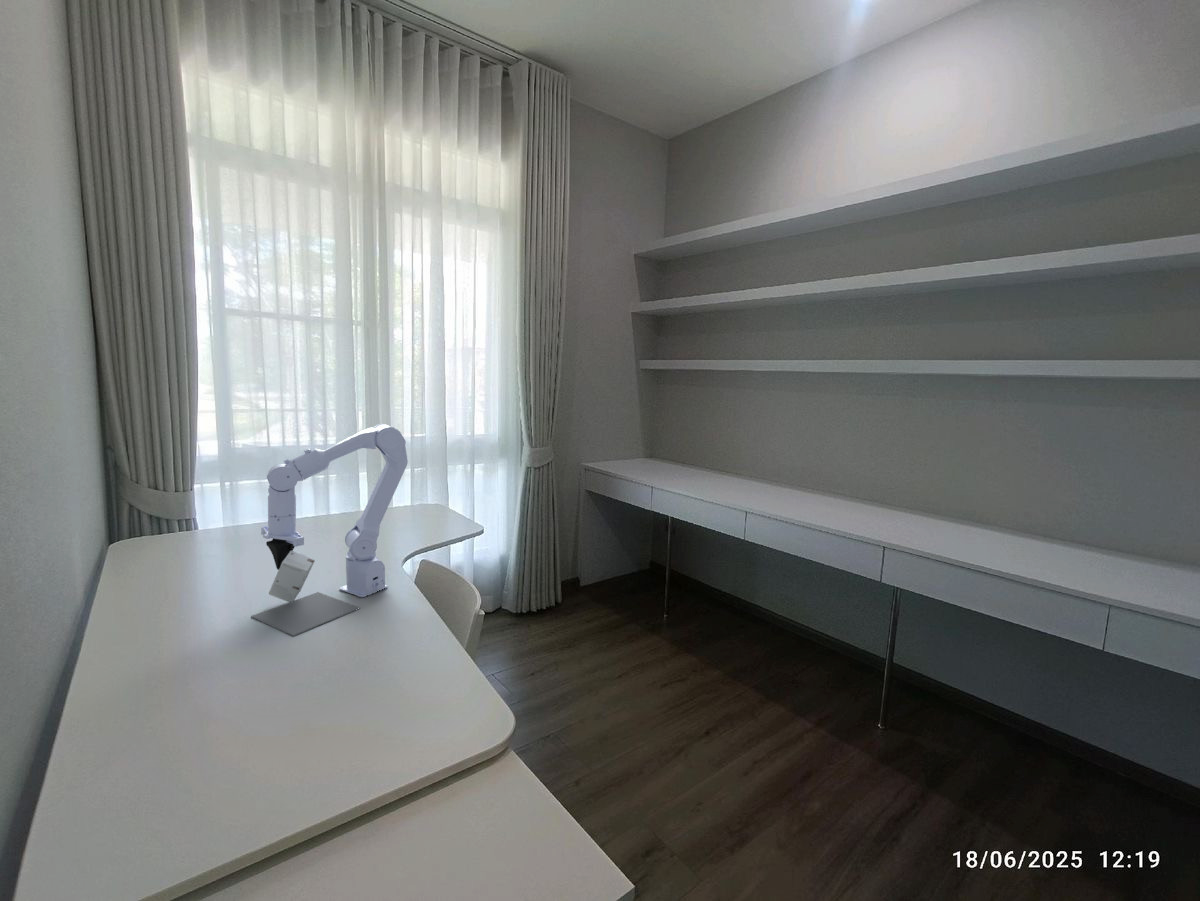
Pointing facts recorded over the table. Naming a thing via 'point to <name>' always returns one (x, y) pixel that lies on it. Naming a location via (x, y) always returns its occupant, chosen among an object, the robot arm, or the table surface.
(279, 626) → the mat
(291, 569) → the skincare box
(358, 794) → the table surface
